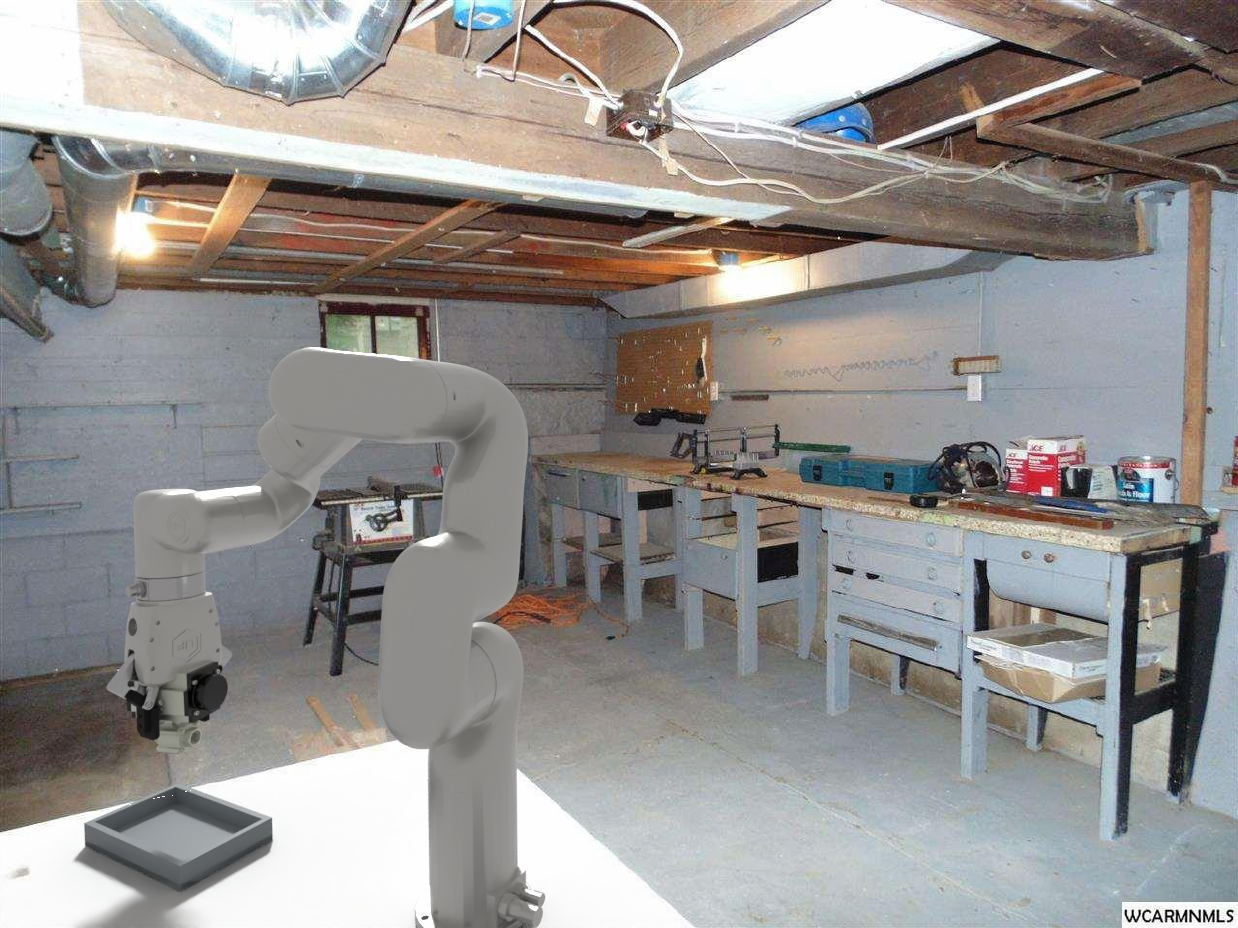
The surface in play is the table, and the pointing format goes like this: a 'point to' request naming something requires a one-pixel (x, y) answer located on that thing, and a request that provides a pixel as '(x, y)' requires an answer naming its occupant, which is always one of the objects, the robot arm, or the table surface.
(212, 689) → the pneumatic valve
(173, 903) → the table surface
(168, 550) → the robot arm
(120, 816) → the parts tray
